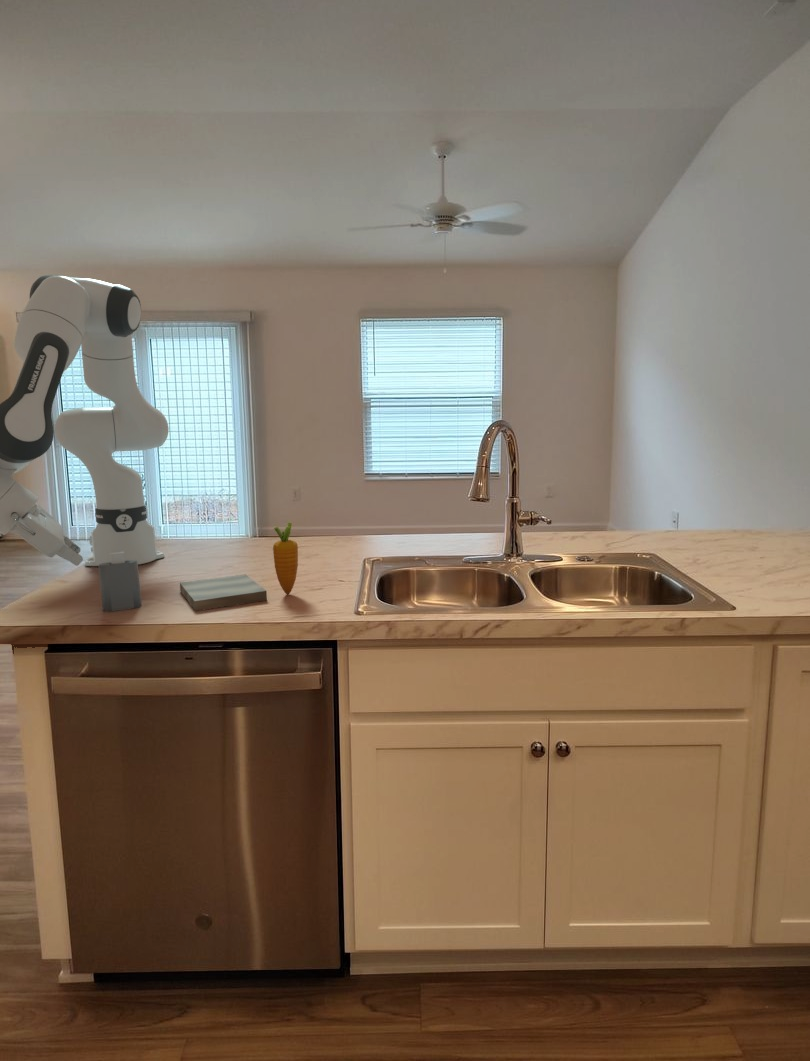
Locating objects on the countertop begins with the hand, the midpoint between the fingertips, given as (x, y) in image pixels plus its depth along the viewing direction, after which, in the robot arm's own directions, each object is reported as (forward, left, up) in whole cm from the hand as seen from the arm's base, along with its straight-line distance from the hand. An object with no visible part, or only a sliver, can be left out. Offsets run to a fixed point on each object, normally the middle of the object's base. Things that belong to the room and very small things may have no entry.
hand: (79, 557), depth 126 cm
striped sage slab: (+2, +26, -11) cm, 28 cm away
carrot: (+8, +38, -11) cm, 40 cm away
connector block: (0, +7, -11) cm, 13 cm away
